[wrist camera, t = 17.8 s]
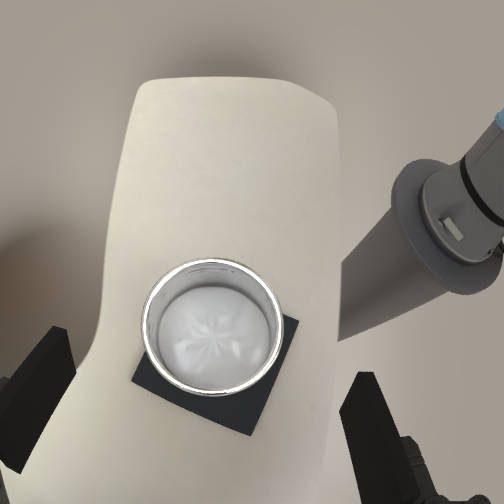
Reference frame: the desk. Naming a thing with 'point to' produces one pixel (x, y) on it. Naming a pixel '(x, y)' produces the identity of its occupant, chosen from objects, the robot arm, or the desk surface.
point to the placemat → (220, 408)
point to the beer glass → (212, 326)
